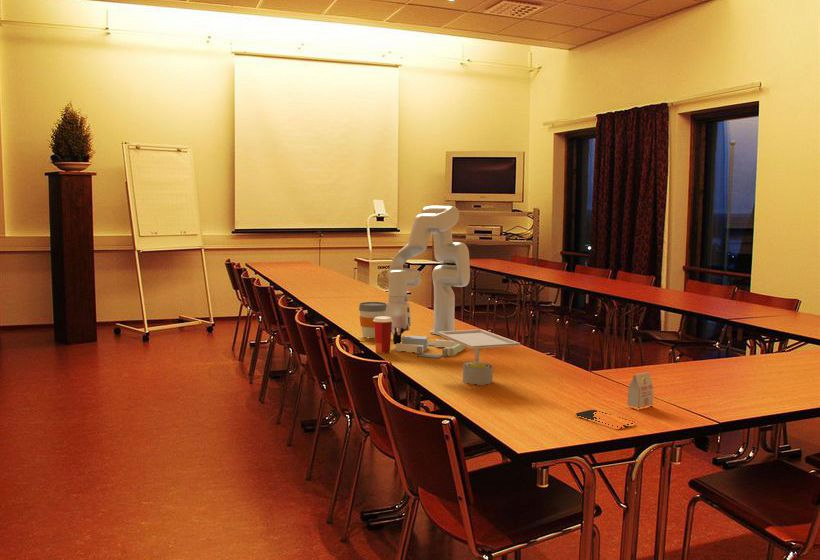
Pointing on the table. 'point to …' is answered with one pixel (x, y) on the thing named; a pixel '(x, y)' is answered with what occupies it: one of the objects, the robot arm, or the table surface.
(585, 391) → the table surface
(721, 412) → the table surface
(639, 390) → the grey tall gabled block
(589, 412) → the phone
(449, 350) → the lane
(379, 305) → the reusable coffee cup
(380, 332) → the paper cup
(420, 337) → the block
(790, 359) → the table surface
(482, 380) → the solar panel model
